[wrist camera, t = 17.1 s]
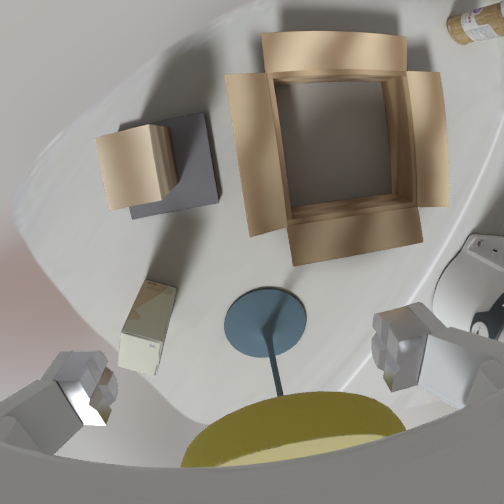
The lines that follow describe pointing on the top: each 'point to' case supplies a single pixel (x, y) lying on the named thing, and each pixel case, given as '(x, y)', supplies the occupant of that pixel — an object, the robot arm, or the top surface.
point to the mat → (186, 168)
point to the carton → (399, 133)
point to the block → (137, 165)
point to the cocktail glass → (284, 398)
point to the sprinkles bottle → (478, 24)
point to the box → (146, 328)
